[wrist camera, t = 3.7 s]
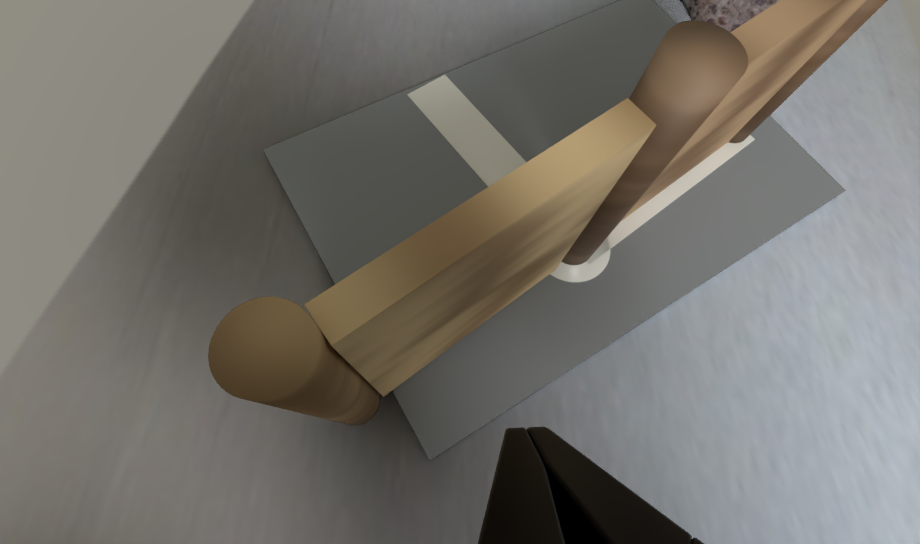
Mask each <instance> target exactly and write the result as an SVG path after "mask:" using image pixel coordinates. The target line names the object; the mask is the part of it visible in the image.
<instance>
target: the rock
mask: <svg viewBox="0 0 920 544" xmlns="http://www.w3.org/2000/svg"><path fill="white" fill-rule="evenodd" d="M682 1H683V2H684V4H685V6H686V7H687V9H688V11H689V12H690V16H691V20H692V21H705V22H709V23H713V24H715V25H718V26H720V27H722V28H724V29H726V30H727V31H729V32H732V31H733V30H735V29H736V28H738V27H740V26H741V25H743V24H744V23H746V22H747V21H749V20H751V19H752V18H754V17H755V16H757V15H758V14H760V13H761V12H763V11H765V10H766V9H768V8H769V7H771V6H772V5H774V4H776V3H777V2H779V1H780V0H682Z"/></svg>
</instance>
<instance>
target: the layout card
mask: <svg viewBox="0 0 920 544" xmlns="http://www.w3.org/2000/svg"><path fill="white" fill-rule="evenodd" d="M676 24H677V23H676V22H675V21H674V20H673V19H672V18H671V17H670V16H669V15H668V14H667V13H666V12H665V11H664V10H663V9H662V8H661V7H660V6H659V5H658V4H657V3H655V2H654V1H653V0H619V1H617V2H614V3H612V4H610V5H607V6H605V7H602V8H600V9H598V10H595V11H593V12H590V13H588V14H586V15H583V16H581V17H579V18H576V19H574V20H571V21H569V22H567V23H564V24H562V25H559V26H557V27H555V28H552V29H550V30H547V31H545V32H543V33H540V34H538V35H535V36H533V37H531V38H528V39H526V40H523V41H521V42H519V43H516V44H514V45H512V46H509V47H507V48H504V49H502V50H500V51H497V52H495V53H492V54H490V55H488V56H485V57H483V58H480V59H478V60H476V61H473V62H471V63H468V64H466V65H464V66H461V67H459V68H456V69H454V70H452V71H449V72H447V73H445V74H442V75H440V76H437V77H435V78H433V79H430V80H428V81H425V82H423V83H421V84H418V85H416V86H413V87H411V88H409V89H406V90H404V91H401V92H399V93H397V94H394V95H392V96H389V97H387V98H385V99H382V100H380V101H378V102H375V103H373V104H370V105H368V106H366V107H363V108H361V109H358V110H356V111H354V112H351V113H349V114H346V115H344V116H342V117H339V118H337V119H334V120H332V121H330V122H327V123H325V124H322V125H320V126H318V127H315V128H313V129H311V130H308V131H306V132H303V133H301V134H299V135H296V136H294V137H291V138H289V139H287V140H284V141H282V142H279V143H277V144H275V145H272V146H270V147H267V148H265V149H263V151H264V153H265V155H266V157H267V158H268V160H269V162H270V164H271V166H272V168H273V170H274V171H275V173H276V175H277V177H278V179H279V181H280V183H281V184H282V186H283V188H284V190H285V192H286V194H287V196H288V198H289V199H290V201H291V203H292V205H293V207H294V209H295V211H296V212H297V214H298V216H299V218H300V220H301V222H302V224H303V225H304V227H305V229H306V231H307V233H308V235H309V237H310V238H311V240H312V242H313V244H314V246H315V248H316V250H317V252H318V253H319V255H320V257H321V259H322V261H323V263H324V265H325V266H326V268H327V270H328V272H329V274H330V276H331V278H332V279H333V281H334V283H335V284H337V283H338V282H340V281H342V280H343V279H345V278H346V277H348V276H349V275H351V274H353V273H354V272H356V271H357V270H359V269H360V268H362V267H363V266H365V265H367V264H368V263H370V262H371V261H373V260H374V259H376V258H378V257H379V256H381V255H382V254H384V253H385V252H387V251H389V250H390V249H392V248H393V247H395V246H396V245H398V244H400V243H401V242H403V241H404V240H406V239H407V238H409V237H410V236H412V235H414V234H415V233H417V232H418V231H420V230H421V229H423V228H425V227H426V226H428V225H429V224H431V223H432V222H434V221H436V220H437V219H439V218H440V217H442V216H443V215H445V214H447V213H448V212H450V211H451V210H453V209H454V208H456V207H458V206H459V205H461V204H462V203H464V202H465V201H467V200H468V199H470V198H472V197H473V196H475V195H476V194H478V193H479V192H481V191H483V190H484V189H486V188H487V187H489V186H490V185H492V184H494V183H495V182H497V181H498V180H500V179H501V178H503V177H505V176H506V175H508V174H509V173H511V172H512V171H514V170H515V169H517V168H519V167H520V166H522V165H523V164H525V163H526V162H528V161H530V160H531V159H533V158H534V157H536V156H537V155H539V154H541V153H542V152H544V151H545V150H547V149H548V148H550V147H552V146H553V145H555V144H556V143H558V142H559V141H561V140H562V139H564V138H566V137H567V136H569V135H570V134H572V133H573V132H575V131H577V130H578V129H580V128H581V127H583V126H584V125H586V124H588V123H589V122H591V121H592V120H594V119H595V118H597V117H599V116H600V115H602V114H603V113H605V112H606V111H608V110H610V109H611V108H613V107H614V106H616V105H617V104H619V103H620V102H622V101H624V100H625V99H627V98H628V99H629V98H630V96H631V94H632V92H633V90H634V89H635V87H636V85H637V83H638V82H639V80H640V78H641V76H642V75H643V73H644V71H645V69H646V68H647V66H648V64H649V62H650V60H651V59H652V57H653V55H654V53H655V52H656V50H657V48H658V46H659V45H660V43H661V41H662V39H663V38H664V36H665V34H666V33H667V31H668V30H669V29H670V28H671V27H673V26H674V25H676ZM844 191H846V190H845V189H844V188H843V187H842V186H841V185H840V184H839V183H838V182H837V181H836V180H835V179H834V178H833V177H832V176H831V175H830V174H829V173H828V172H827V171H826V170H825V169H824V168H823V167H822V166H821V165H820V164H819V163H818V162H817V161H816V160H815V159H814V158H812V157H811V156H810V155H809V154H808V153H807V152H806V151H805V150H804V149H803V148H802V147H801V146H800V145H799V144H798V143H797V142H796V141H795V140H794V139H793V138H792V137H791V136H790V135H789V134H788V133H787V132H786V131H785V130H784V129H783V128H782V127H781V126H780V125H779V124H778V123H777V122H776V121H775V120H774V119H773V118H772V117H771V116H769V117H768V118H767V119H766V120H764V121H763V122H762V123H761V124H760V125H759V126H758V127H757V128H756V129H755V130H754V131H753V132H752V133H751V134H750V135H749V136H748V137H747V138H746V139H745V140H744V141H743V142H740V143H729V142H728V143H726V144H725V145H724V146H722V147H721V148H720V149H718V150H717V151H716V152H714V153H713V154H711V155H710V156H709V157H707V158H706V159H705V160H703V161H702V162H701V163H699V164H698V165H697V166H695V167H694V168H693V169H691V170H690V171H688V172H687V173H686V174H684V175H683V176H682V177H680V178H679V179H678V180H676V181H675V182H674V183H672V184H671V185H670V186H668V187H667V188H665V189H664V190H663V191H661V192H660V193H659V194H657V195H656V196H655V197H653V198H652V199H651V200H649V201H648V202H647V203H645V204H644V205H642V206H641V207H640V208H638V209H637V210H636V211H634V212H633V213H632V214H630V215H629V216H628V217H626V218H625V219H624V220H622V221H621V222H620V223H619V224H618V225H617V226H616V227H615V229H614V230H613V231H612V232H611V233H610V234H609V236H608V237H607V238H606V239H605V240H604V242H603V243H602V244H601V245H600V246H599V248H598V249H597V250H596V251H595V252H594V254H593V255H592V256H591V257H590V258H589V259H588V260H587V261H586V262H585V263H583V264H580V265H568V264H565V263H563V262H560V264H559V265H558V267H557V268H556V270H555V271H553V272H552V273H550V274H549V275H548V276H546V277H545V278H544V279H542V280H541V281H540V282H538V283H537V284H536V285H534V286H533V287H532V288H530V289H529V290H527V291H526V292H525V293H523V294H522V295H521V296H519V297H518V298H517V299H515V300H514V301H513V302H511V303H510V304H509V305H507V306H506V307H504V308H503V309H502V310H500V311H499V312H498V313H496V314H495V315H494V316H492V317H491V318H490V319H488V320H487V321H486V322H484V323H483V324H482V325H480V326H479V327H477V328H476V329H475V330H473V331H472V332H471V333H469V334H468V335H467V336H465V337H464V338H463V339H461V340H460V341H459V342H457V343H456V344H454V345H453V346H452V347H450V348H449V349H448V350H446V351H445V352H444V353H442V354H441V355H440V356H438V357H437V358H436V359H434V360H433V361H431V362H430V363H429V364H427V365H426V366H425V367H423V368H422V369H421V370H419V371H418V372H417V373H415V374H414V375H413V376H411V377H410V378H408V379H407V380H406V381H404V382H403V383H402V384H400V385H399V386H398V387H396V388H395V389H394V390H392V391H393V393H394V395H395V397H396V399H397V400H398V402H399V404H400V406H401V408H402V410H403V412H404V414H405V415H406V417H407V419H408V421H409V423H410V425H411V427H412V428H413V430H414V432H415V434H416V436H417V438H418V440H419V441H420V443H421V445H422V447H423V449H424V451H425V453H426V454H427V456H428V458H429V460H432V459H433V458H435V457H436V456H438V455H439V454H441V453H442V452H444V451H445V450H447V449H449V448H450V447H452V446H453V445H455V444H456V443H458V442H459V441H461V440H462V439H464V438H465V437H467V436H469V435H470V434H472V433H473V432H475V431H476V430H478V429H479V428H481V427H482V426H484V425H485V424H487V423H489V422H490V421H492V420H493V419H495V418H496V417H498V416H499V415H501V414H502V413H504V412H505V411H507V410H509V409H510V408H512V407H513V406H515V405H516V404H518V403H519V402H521V401H522V400H524V399H525V398H527V397H529V396H530V395H532V394H533V393H535V392H536V391H538V390H539V389H541V388H542V387H544V386H545V385H547V384H549V383H550V382H552V381H553V380H555V379H556V378H558V377H559V376H561V375H562V374H564V373H565V372H567V371H569V370H570V369H572V368H573V367H575V366H576V365H578V364H579V363H581V362H582V361H584V360H585V359H587V358H589V357H590V356H592V355H593V354H595V353H596V352H598V351H599V350H601V349H602V348H604V347H606V346H607V345H609V344H610V343H612V342H613V341H615V340H616V339H618V338H619V337H621V336H622V335H624V334H626V333H627V332H629V331H630V330H632V329H633V328H635V327H636V326H638V325H639V324H641V323H642V322H644V321H646V320H647V319H649V318H650V317H652V316H653V315H655V314H656V313H658V312H659V311H661V310H662V309H664V308H666V307H667V306H669V305H670V304H672V303H673V302H675V301H676V300H678V299H679V298H681V297H682V296H684V295H686V294H687V293H689V292H690V291H692V290H693V289H695V288H696V287H698V286H699V285H701V284H702V283H704V282H706V281H707V280H709V279H710V278H712V277H713V276H715V275H716V274H718V273H719V272H721V271H722V270H724V269H726V268H727V267H729V266H730V265H732V264H733V263H735V262H736V261H738V260H739V259H741V258H742V257H744V256H746V255H747V254H749V253H750V252H752V251H753V250H755V249H756V248H758V247H759V246H761V245H762V244H764V243H766V242H767V241H769V240H770V239H772V238H773V237H775V236H776V235H778V234H779V233H781V232H782V231H784V230H786V229H787V228H789V227H790V226H792V225H793V224H795V223H796V222H798V221H799V220H801V219H802V218H804V217H806V216H807V215H809V214H810V213H812V212H813V211H815V210H816V209H818V208H819V207H821V206H823V205H824V204H826V203H827V202H829V201H830V200H832V199H833V198H835V197H836V196H838V195H839V194H841V193H843V192H844Z"/></svg>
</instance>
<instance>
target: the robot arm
mask: <svg viewBox="0 0 920 544" xmlns="http://www.w3.org/2000/svg"><path fill="white" fill-rule="evenodd" d="M478 544H704V543H702V542H701V541H700V540H698V539H697V538H693V539H692V537H691V535H690V534H689V533H688V532H686V531H685V530H684V529H682V528H681V527H680V526H678V525H677V524H676V523H674V522H673V521H672V520H670V519H669V518H668V517H666V516H665V515H664V514H662V513H661V512H659V511H658V510H657V509H655V508H654V507H653V506H651V505H650V504H649V503H647V502H646V501H645V500H643V499H642V498H641V497H639V496H638V495H637V494H635V493H634V492H633V491H631V490H630V489H629V488H627V487H626V486H625V485H623V484H622V483H621V482H619V481H618V480H617V479H615V478H614V477H613V476H611V475H610V474H609V473H607V472H606V471H605V470H603V469H602V468H601V467H599V466H598V465H597V464H595V463H594V462H592V461H591V460H590V459H588V458H587V457H586V456H584V455H583V454H582V453H580V452H579V451H578V450H576V449H575V448H574V447H572V446H571V445H570V444H568V443H567V442H566V441H564V440H563V439H562V438H560V437H559V436H558V435H556V434H555V433H554V432H552V431H551V430H550V429H548V428H546V427H529V428H528V429H527V430H526V429H525V428H508V429H506V431H505V434H504V439H503V443H502V447H501V451H500V455H499V459H498V463H497V467H496V471H495V475H494V480H493V484H492V488H491V492H490V496H489V500H488V504H487V508H486V512H485V516H484V520H483V525H482V529H481V533H480V537H479V541H478Z"/></svg>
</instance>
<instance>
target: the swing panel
mask: <svg viewBox="0 0 920 544" xmlns="http://www.w3.org/2000/svg"><path fill="white" fill-rule="evenodd" d="M655 127H656V124H655V123H654V122H653V121H652V120H651V119H650V118H649V117H648V116H647V115H645V114H644V113H643V112H642V111H641V110H640V109H639V108H638V107H637V106H636V105H635V104H634V103H633V102H631V101H630V100H629V99H628V98H627V99H625V100H624V101H622V102H620V103H619V104H617V105H616V106H614V107H613V108H611V109H610V110H608V111H606V112H605V113H603V114H602V115H600V116H599V117H597V118H595V119H594V120H592V121H591V122H589V123H588V124H586V125H584V126H583V127H581V128H580V129H578V130H577V131H575V132H573V133H572V134H570V135H569V136H567V137H566V138H564V139H562V140H561V141H559V142H558V143H556V144H555V145H553V146H552V147H550V148H548V149H547V150H545V151H544V152H542V153H541V154H539V155H537V156H536V157H534V158H533V159H531V160H530V161H528V162H526V163H525V164H523V165H522V166H520V167H519V168H517V169H515V170H514V171H512V172H511V173H509V174H508V175H506V176H505V177H503V178H501V179H500V180H498V181H497V182H495V183H494V184H492V185H490V186H489V187H487V188H486V189H484V190H483V191H481V192H479V193H478V194H476V195H475V196H473V197H472V198H470V199H468V200H467V201H465V202H464V203H462V204H461V205H459V206H458V207H456V208H454V209H453V210H451V211H450V212H448V213H447V214H445V215H443V216H442V217H440V218H439V219H437V220H436V221H434V222H432V223H431V224H429V225H428V226H426V227H425V228H423V229H421V230H420V231H418V232H417V233H415V234H414V235H412V236H410V237H409V238H407V239H406V240H404V241H403V242H401V243H400V244H398V245H396V246H395V247H393V248H392V249H390V250H389V251H387V252H385V253H384V254H382V255H381V256H379V257H378V258H376V259H374V260H373V261H371V262H370V263H368V264H367V265H365V266H363V267H362V268H360V269H359V270H357V271H356V272H354V273H353V274H351V275H349V276H348V277H346V278H345V279H343V280H342V281H340V282H338V283H337V284H335V285H334V286H332V287H331V288H329V289H327V290H326V291H324V292H323V293H321V294H320V295H318V296H316V297H315V298H313V299H312V300H310V301H309V302H307V303H306V304H304V305H305V307H306V308H307V310H308V311H309V313H310V314H311V316H312V317H313V319H314V320H315V321H314V320H313V319H312V318H311V317H310V316H309V315H308V314H307V312H306V311H305V310H303V309H302V308H301V307H300V306H299V305H297V304H296V303H294V302H292V301H290V300H287V299H284V298H280V297H260V298H256V299H252V300H249V301H247V302H244V303H243V304H241V305H239V306H237V307H236V308H234V309H233V310H232V311H231V312H229V313H228V314H227V315H226V316H225V317H224V318H223V319H222V321H221V322H220V323H219V325H218V326H217V328H216V330H215V331H214V334H213V336H212V338H211V342H210V345H209V354H208V359H209V366H210V370H211V373H212V375H213V377H214V379H215V380H216V382H217V383H218V384H219V385H220V386H221V388H222V389H224V390H225V391H226V392H228V393H229V394H231V395H233V396H235V397H238V398H241V399H245V400H249V401H253V402H258V403H262V404H266V405H270V406H274V407H278V408H282V409H286V410H291V411H295V412H299V413H303V414H307V415H311V416H315V417H319V418H324V419H328V420H332V421H336V422H340V423H344V424H348V425H360V424H363V423H365V422H367V421H369V420H370V419H371V418H372V417H373V416H374V415H375V414H376V412H377V410H378V408H379V404H380V394H381V395H382V396H383V397H384V396H385V395H387V394H388V393H390V392H391V391H392V390H394V389H395V388H396V387H398V386H399V385H400V384H402V383H403V382H404V381H406V380H407V379H408V378H410V377H411V376H413V375H414V374H415V373H417V372H418V371H419V370H421V369H422V368H423V367H425V366H426V365H427V364H429V363H430V362H431V361H433V360H434V359H436V358H437V357H438V356H440V355H441V354H442V353H444V352H445V351H446V350H448V349H449V348H450V347H452V346H453V345H454V344H456V343H457V342H459V341H460V340H461V339H463V338H464V337H465V336H467V335H468V334H469V333H471V332H472V331H473V330H475V329H476V328H477V327H479V326H480V325H482V324H483V323H484V322H486V321H487V320H488V319H490V318H491V317H492V316H494V315H495V314H496V313H498V312H499V311H500V310H502V309H503V308H504V307H506V306H507V305H509V304H510V303H511V302H513V301H514V300H515V299H517V298H518V297H519V296H521V295H522V294H523V293H525V292H526V291H527V290H529V289H530V288H532V287H533V286H534V285H536V284H537V283H538V282H540V281H541V280H542V279H544V278H545V277H546V276H548V275H549V274H550V273H552V272H553V271H555V270H556V268H557V267H558V265H559V264H560V262H561V261H562V260H563V258H564V257H565V255H566V254H567V253H568V251H569V250H570V248H571V247H572V245H573V244H574V243H575V241H576V240H577V238H578V237H579V235H580V234H581V233H582V231H583V230H584V228H585V227H586V225H587V224H588V223H589V221H590V220H591V218H592V217H593V215H594V214H595V213H596V211H597V210H598V208H599V207H600V205H601V204H602V203H603V201H604V200H605V198H606V197H607V195H608V194H609V193H610V191H611V190H612V188H613V187H614V185H615V184H616V183H617V181H618V180H619V178H620V177H621V175H622V174H623V173H624V171H625V170H626V168H627V167H628V165H629V164H630V163H631V161H632V160H633V158H634V157H635V155H636V154H637V153H638V151H639V150H640V148H641V147H642V145H643V144H644V143H645V141H646V140H647V138H648V137H649V135H650V134H651V133H652V131H653V130H654V128H655ZM379 393H380V394H379Z"/></svg>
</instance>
